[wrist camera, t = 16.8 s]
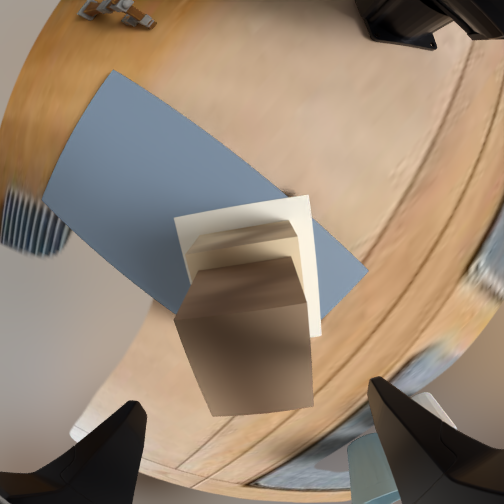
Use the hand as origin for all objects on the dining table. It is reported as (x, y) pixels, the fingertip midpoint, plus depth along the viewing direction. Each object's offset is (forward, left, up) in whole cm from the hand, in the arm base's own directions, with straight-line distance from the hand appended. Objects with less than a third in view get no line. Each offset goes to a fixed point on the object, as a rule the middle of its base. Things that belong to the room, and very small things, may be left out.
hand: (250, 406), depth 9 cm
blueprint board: (+4, -5, -12) cm, 13 cm away
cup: (-11, +28, -12) cm, 32 cm away
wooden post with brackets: (+7, -24, -12) cm, 28 cm away
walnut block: (0, 0, -7) cm, 7 cm away
